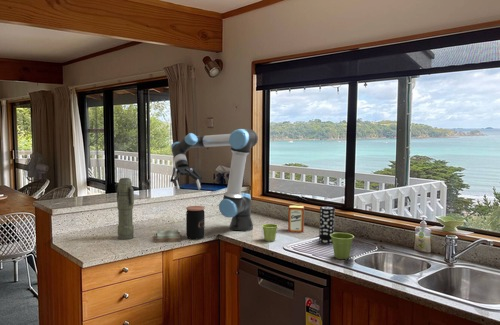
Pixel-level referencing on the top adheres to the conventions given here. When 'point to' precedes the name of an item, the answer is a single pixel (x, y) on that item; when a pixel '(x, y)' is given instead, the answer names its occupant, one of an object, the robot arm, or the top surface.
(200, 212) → the coffee jar
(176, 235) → the plinth
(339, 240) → the plant pot
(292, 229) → the baking soda box
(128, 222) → the thermos
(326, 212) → the spotted tube
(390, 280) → the top surface
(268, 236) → the plant pot
